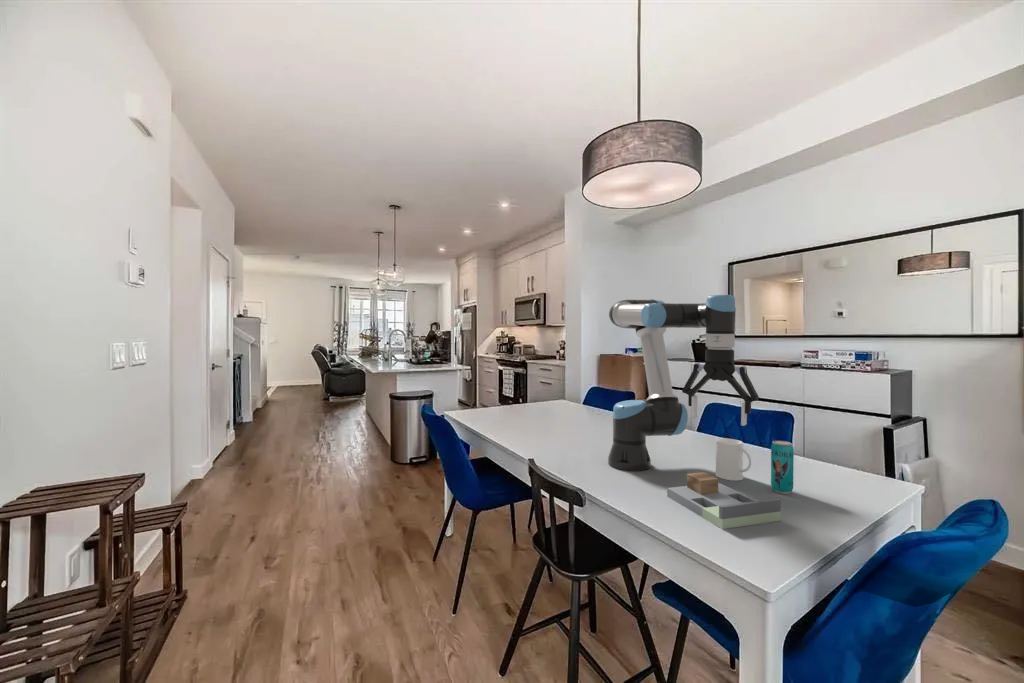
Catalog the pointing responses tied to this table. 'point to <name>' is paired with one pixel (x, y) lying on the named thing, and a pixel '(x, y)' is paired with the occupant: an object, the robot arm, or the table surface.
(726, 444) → the mug
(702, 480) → the block
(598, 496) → the table surface
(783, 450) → the beverage can
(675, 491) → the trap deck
